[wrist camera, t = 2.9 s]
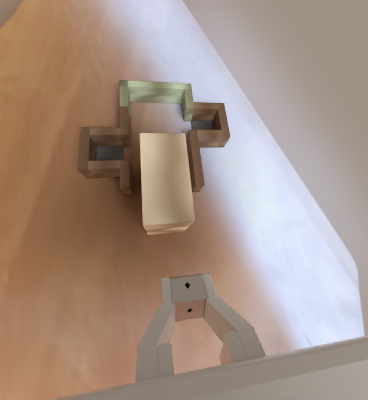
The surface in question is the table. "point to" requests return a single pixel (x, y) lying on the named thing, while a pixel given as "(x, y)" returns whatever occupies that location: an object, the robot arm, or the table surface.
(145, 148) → the beech block
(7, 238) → the table surface
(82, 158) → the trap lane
